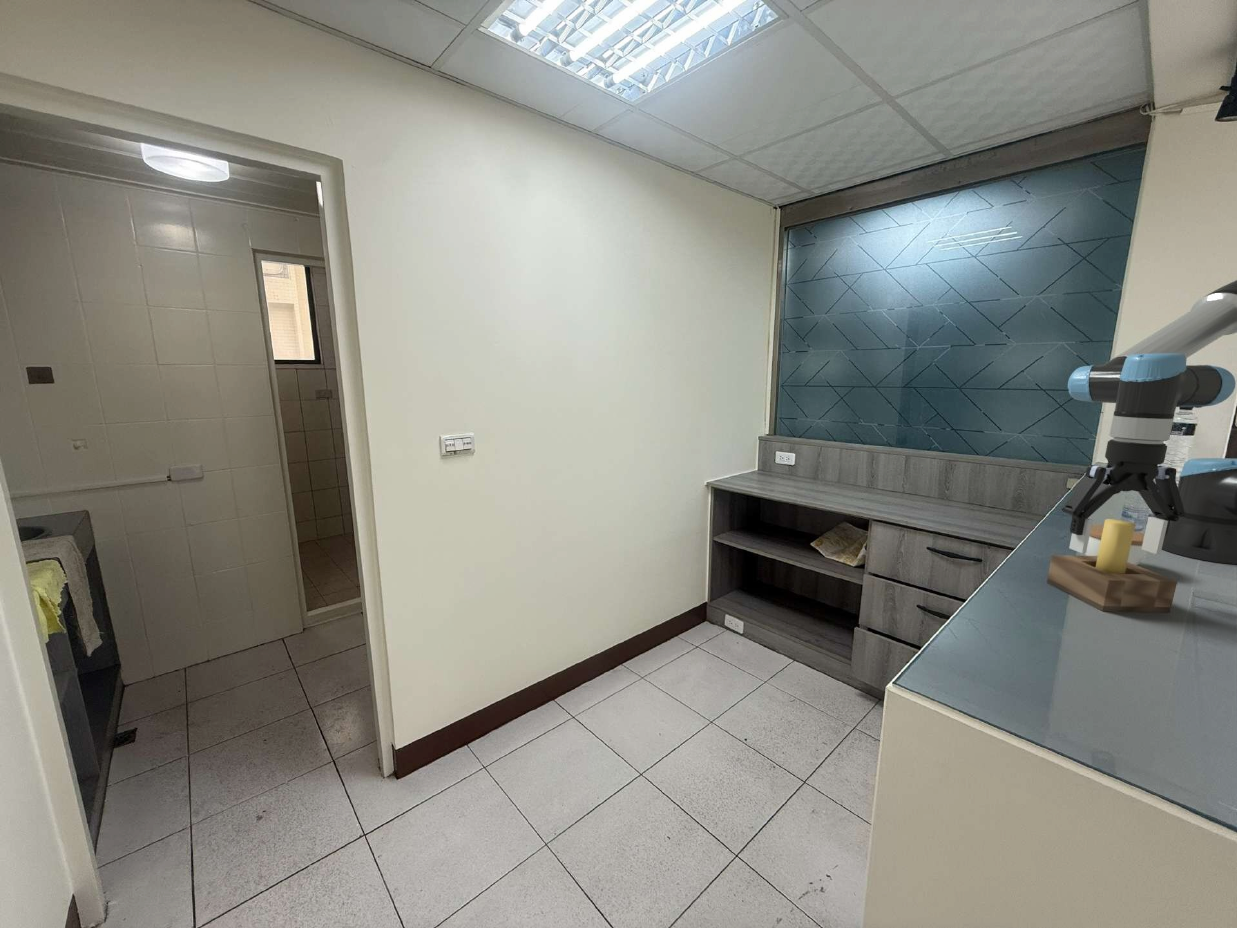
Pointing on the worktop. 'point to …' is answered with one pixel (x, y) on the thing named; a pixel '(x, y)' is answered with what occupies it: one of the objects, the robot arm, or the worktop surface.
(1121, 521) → the dowel
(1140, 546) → the lidded jar
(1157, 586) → the socket block
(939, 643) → the worktop surface
